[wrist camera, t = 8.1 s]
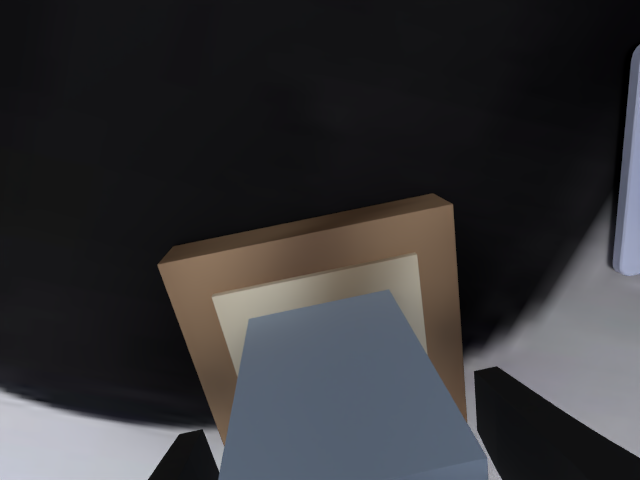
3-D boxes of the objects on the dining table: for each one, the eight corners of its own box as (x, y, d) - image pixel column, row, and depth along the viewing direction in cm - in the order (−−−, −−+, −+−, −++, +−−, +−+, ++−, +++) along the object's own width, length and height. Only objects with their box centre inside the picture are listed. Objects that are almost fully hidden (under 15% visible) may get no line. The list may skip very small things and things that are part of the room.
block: (389, 289, 12) (487, 458, 6) (404, 400, 13) (494, 619, 7) (248, 318, 11) (210, 519, 6) (280, 427, 13) (275, 669, 7)
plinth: (432, 193, 12) (455, 205, 11) (450, 398, 15) (469, 433, 14) (173, 246, 12) (155, 267, 11) (241, 443, 15) (235, 484, 14)
